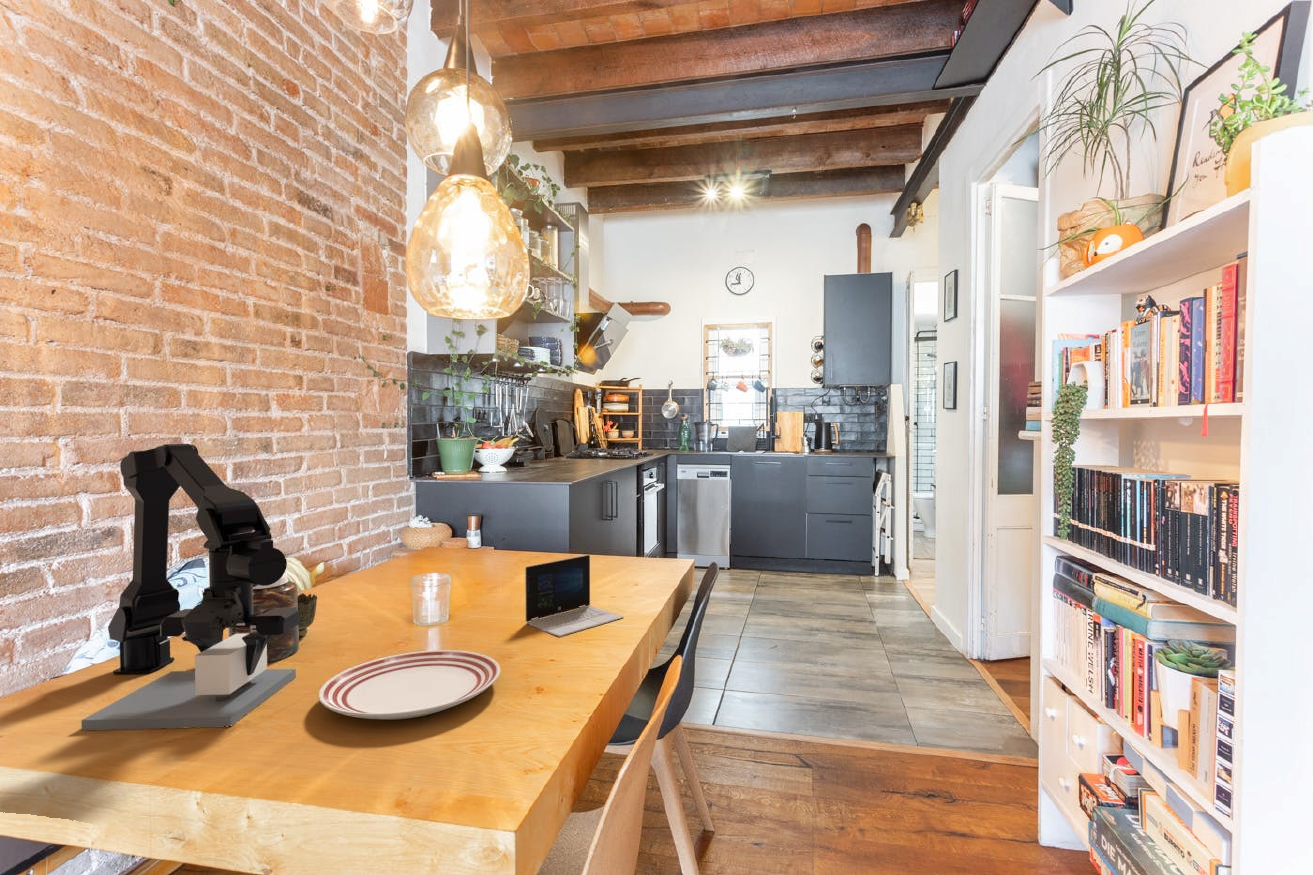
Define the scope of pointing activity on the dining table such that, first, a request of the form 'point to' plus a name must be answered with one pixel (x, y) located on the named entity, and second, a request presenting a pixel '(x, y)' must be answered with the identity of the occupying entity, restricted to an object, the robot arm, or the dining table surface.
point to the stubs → (228, 696)
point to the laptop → (562, 597)
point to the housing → (225, 667)
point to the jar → (267, 599)
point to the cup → (306, 612)
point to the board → (185, 703)
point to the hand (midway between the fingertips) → (233, 674)
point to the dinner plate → (409, 684)
